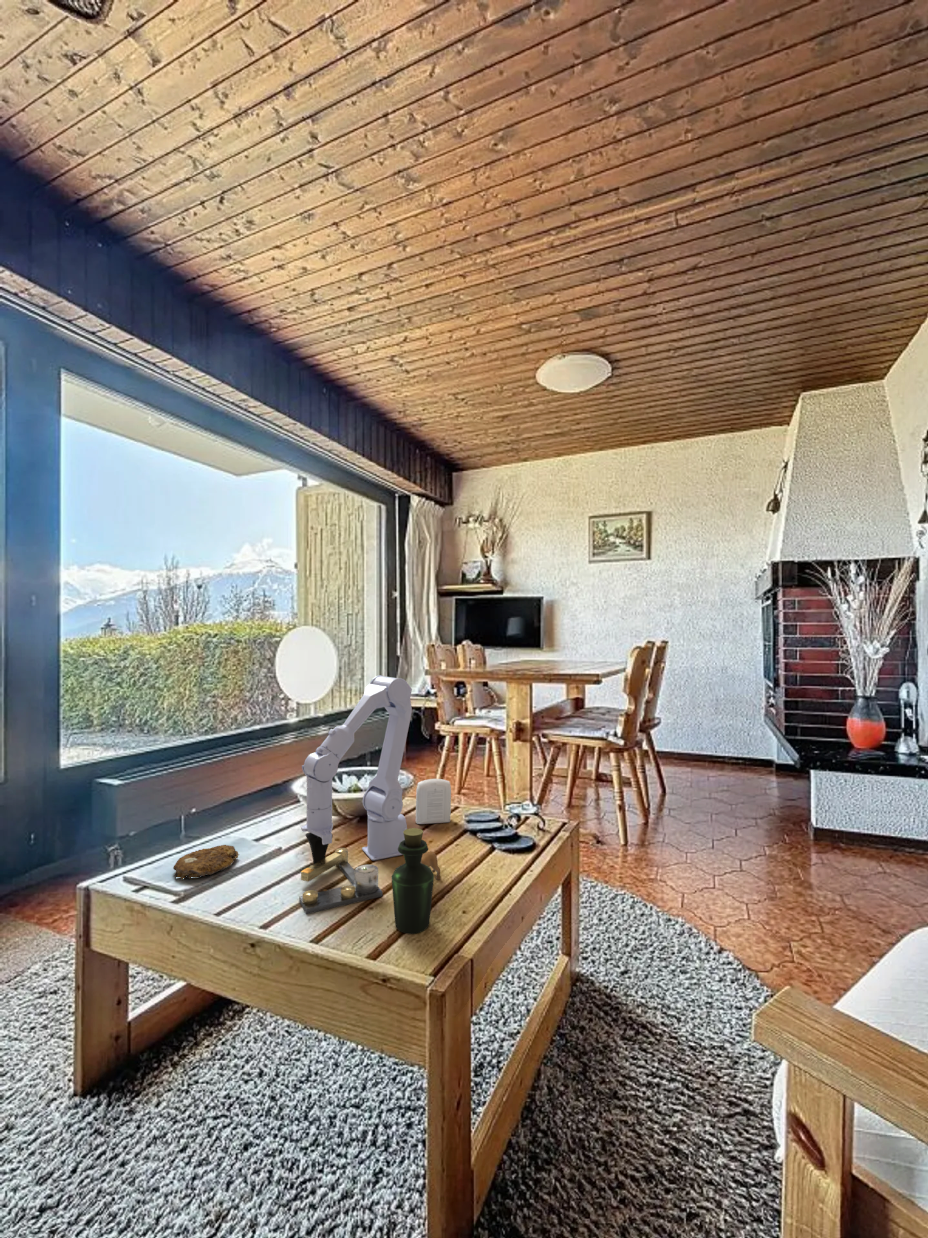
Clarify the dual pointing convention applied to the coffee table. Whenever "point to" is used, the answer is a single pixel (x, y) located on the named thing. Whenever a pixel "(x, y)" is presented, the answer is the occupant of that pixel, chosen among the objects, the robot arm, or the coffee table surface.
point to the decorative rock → (205, 861)
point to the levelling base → (335, 894)
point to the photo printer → (433, 801)
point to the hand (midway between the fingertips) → (318, 864)
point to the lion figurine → (431, 862)
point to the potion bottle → (412, 885)
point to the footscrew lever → (325, 864)
